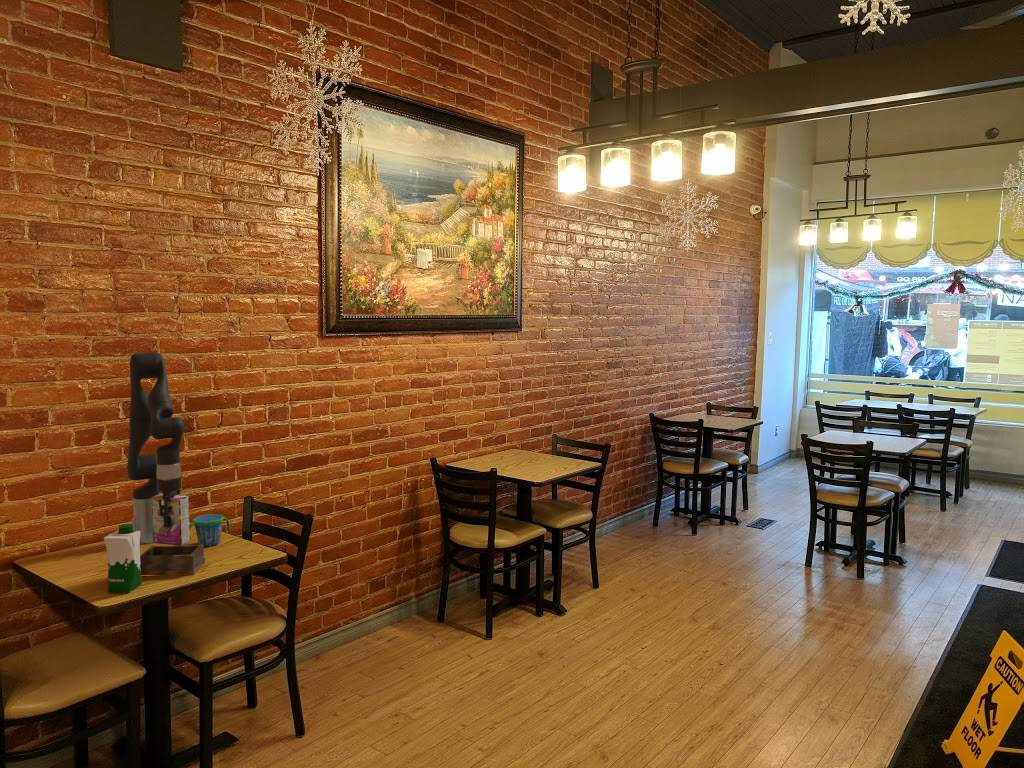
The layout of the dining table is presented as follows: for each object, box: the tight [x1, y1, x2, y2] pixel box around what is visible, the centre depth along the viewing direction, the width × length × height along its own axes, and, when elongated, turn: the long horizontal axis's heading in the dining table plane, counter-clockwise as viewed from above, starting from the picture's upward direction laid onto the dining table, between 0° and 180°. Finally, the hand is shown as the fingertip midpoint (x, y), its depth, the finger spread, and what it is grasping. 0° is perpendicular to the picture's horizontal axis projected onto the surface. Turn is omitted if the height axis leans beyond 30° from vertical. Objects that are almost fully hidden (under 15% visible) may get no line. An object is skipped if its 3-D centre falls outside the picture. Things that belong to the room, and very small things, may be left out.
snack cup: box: [189, 513, 231, 547], centre depth 276 cm, size 16×10×10 cm
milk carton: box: [103, 523, 142, 594], centre depth 231 cm, size 9×9×20 cm
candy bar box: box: [152, 493, 191, 546], centre depth 248 cm, size 11×5×16 cm, turn 79°
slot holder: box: [140, 544, 206, 576], centre depth 250 cm, size 18×12×6 cm, turn 96°
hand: (170, 524), depth 248 cm, fingers closed on candy bar box, 6 cm apart
